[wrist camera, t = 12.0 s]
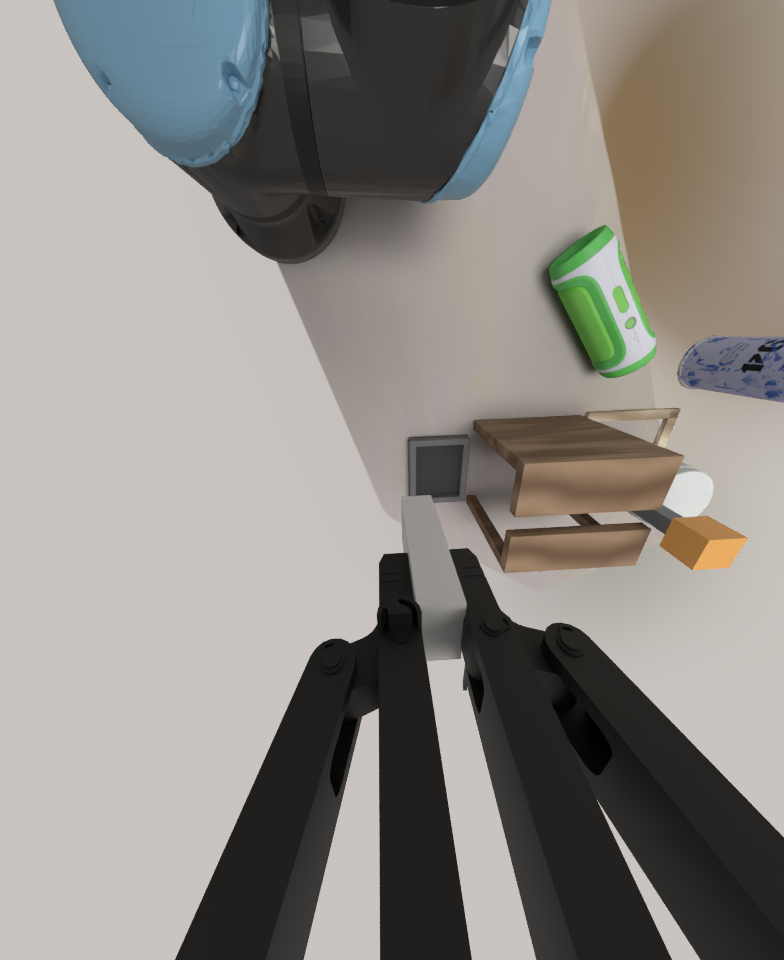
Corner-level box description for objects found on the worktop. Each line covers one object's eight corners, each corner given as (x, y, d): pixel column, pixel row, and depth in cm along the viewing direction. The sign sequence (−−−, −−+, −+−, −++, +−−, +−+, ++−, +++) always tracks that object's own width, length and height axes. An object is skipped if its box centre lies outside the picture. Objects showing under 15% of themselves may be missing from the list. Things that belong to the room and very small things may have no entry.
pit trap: (408, 437, 49) (410, 441, 47) (467, 434, 49) (470, 438, 47) (409, 498, 54) (410, 503, 52) (461, 495, 54) (464, 501, 53)
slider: (572, 427, 49) (731, 502, 27) (596, 426, 49) (772, 499, 27) (557, 487, 54) (680, 590, 32) (578, 486, 54) (715, 588, 32)
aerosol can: (712, 324, 43) (950, 315, 25) (740, 354, 45) (978, 365, 27) (667, 372, 46) (851, 394, 28) (695, 397, 48) (883, 434, 30)
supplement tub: (618, 484, 55) (695, 530, 42) (570, 485, 54) (632, 532, 41) (638, 435, 51) (730, 470, 37) (586, 436, 50) (660, 471, 37)
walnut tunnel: (474, 420, 48) (524, 463, 31) (579, 415, 48) (684, 455, 32) (466, 502, 55) (504, 572, 39) (558, 497, 56) (634, 565, 39)
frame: (586, 412, 48) (589, 413, 47) (676, 407, 49) (680, 408, 48) (562, 499, 56) (565, 501, 55) (640, 495, 56) (644, 497, 55)
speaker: (631, 344, 44) (677, 345, 37) (587, 377, 46) (623, 384, 39) (583, 233, 38) (628, 210, 31) (534, 277, 39) (566, 264, 33)
